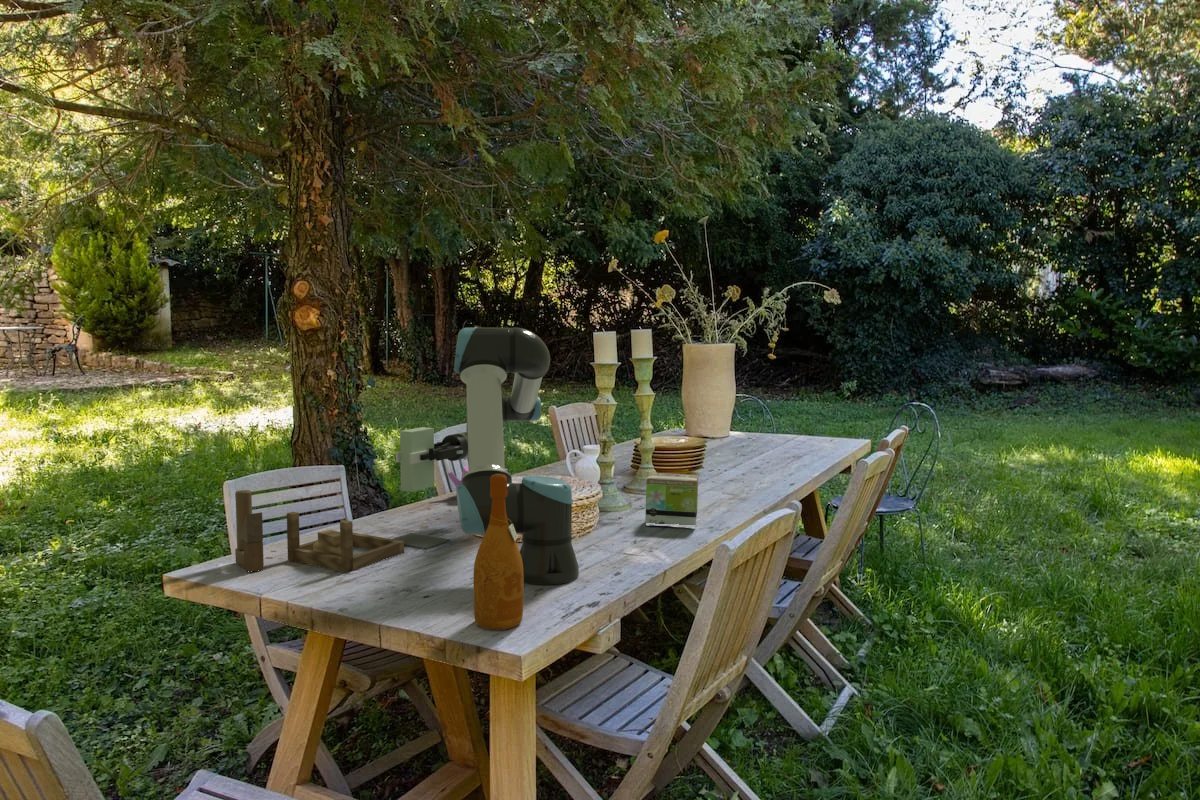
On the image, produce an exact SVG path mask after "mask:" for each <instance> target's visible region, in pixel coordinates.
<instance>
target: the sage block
mask: <svg viewBox="0 0 1200 800" xmlns="http://www.w3.org/2000/svg"><path fill="white" fill-rule="evenodd" d="M399 443H400V444H399V446H400V447H399V449H400V450H399V451H400V462H399V463H400V465H399V467H400V491H404V492H411V493H413V492H417V491H421V490H424V489H428V488H432V487H435V460H432V461H431V460H429V459H428V461H424V462H419V463H415V464H410V454H411V453H416V452H421V451H425V450H427V451H428V453H429V448H433V450H434V444H435V428H434V427H424V426H423V427H416V428H411V429H403V430H400V431H399Z"/></svg>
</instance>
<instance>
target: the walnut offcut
mask: <svg viewBox="0 0 1200 800" xmlns="http://www.w3.org/2000/svg"><path fill="white" fill-rule="evenodd" d="M317 540H318V543H321V544H325V545H328V546H332V547H339V546H340V531H338V530H334V529H333V530H332V529H326V530H322V531H318V532H317Z"/></svg>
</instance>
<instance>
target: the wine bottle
mask: <svg viewBox="0 0 1200 800" xmlns="http://www.w3.org/2000/svg"><path fill="white" fill-rule="evenodd" d="M507 496H508V491H507V477H506V476H505V475H503V474H494V475H492V476H491V477H490V497H491V498H492V506H491V514H490V522H489V525H488V528H487V530H486V533H485V535H484V536H482V540H481V542H480V544H479V547H478V550H477V553H476V556H475V560H474V565H473V611H474V612H473V613H474V614H473V616H474V621H475V623H476V624H477V626H479V627H481V628H483V629H486V630H491V631H503V629H504V630H508V629H512V628H515V627H516V626H518V625H520V623H521V622H522V620H523V614H524V584H525V582H524V574H523V563H522V558H521V554H520V549H519V546H518V543H517V542H516V540H517V539H518V537H519V536H518V533H516V531H515V528H514V526H513V524H511V525H509V524H508V521H507V519H508V518H507V515H506V506H505V498H506V497H507ZM511 523H512V522H511Z"/></svg>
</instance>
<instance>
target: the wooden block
mask: <svg viewBox="0 0 1200 800" xmlns="http://www.w3.org/2000/svg"><path fill="white" fill-rule="evenodd" d="M234 495H235V496H234V497H235V521H236V527H235V528H236V548H235V550H234V552H235V553H234V554H235V557H234V558H235V563H236V564H238V566H240V567H241V568H242V567H243V568H242V569H244V570H245V571H246V570H247V571H249V572H251V571H257V572H259V571H258V570H262V571H264V570H263V569H264V568H265V567H264V536H263V535H264V532H263V531H264V530H263V512H256V513H255V512H254V513H253V503H252V502H253V500H252V499H253V498H252V491H251V490H249V489H242V490H237V491H235V494H234ZM247 571H246V572H247ZM251 573H252V572H251Z"/></svg>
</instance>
